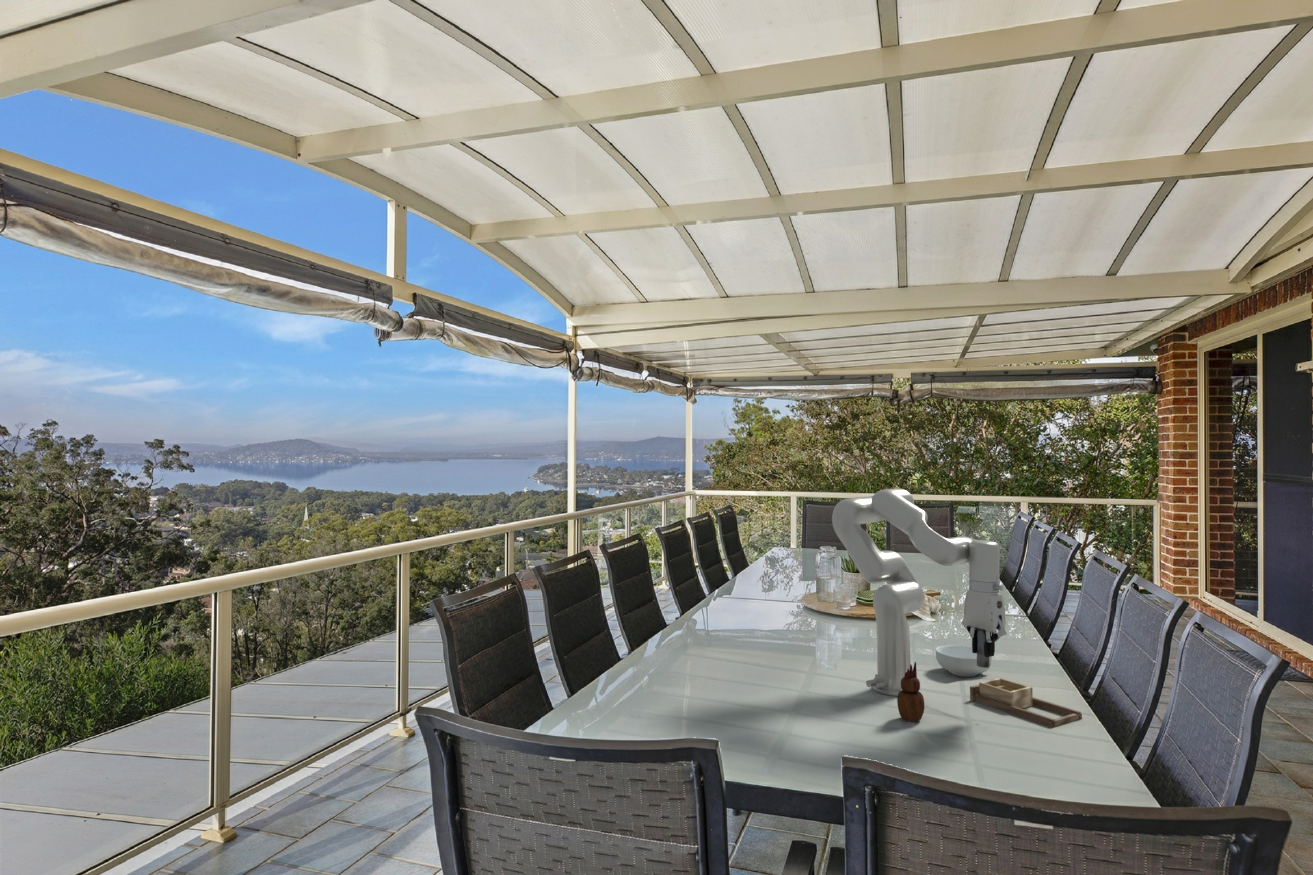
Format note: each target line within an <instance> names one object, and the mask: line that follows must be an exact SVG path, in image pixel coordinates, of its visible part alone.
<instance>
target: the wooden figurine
mask: <svg viewBox="0 0 1313 875" xmlns="http://www.w3.org/2000/svg"><path fill="white" fill-rule="evenodd" d="M917 672H918V671H917V662H916V661H915V662H914V664H913V665H912V664H911V665H910V671H909V669H907V672H905V676H904V677H903V678H902V679H901V688H902V691H900V692H899V693H898V696H896V697H897V698H896V701H897V702H896V703H897V709H898V714H899V715H900V716H899V717H900V718H901V719H902V720H904V721H907V722H918V721H920V720H922V717H923V715H924V713H925V698H924V695H923V694H922V692H921V691H920V689H921V682H920V680H919V679H918V675H917V674H918V673H917Z"/></svg>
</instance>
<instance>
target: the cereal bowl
mask: <svg viewBox="0 0 1313 875" xmlns="http://www.w3.org/2000/svg"><path fill="white" fill-rule="evenodd" d="M992 657H993V656H991V657H990V667H991V665H992V660H993V658H992ZM935 659H936V661H937V663H938V664H939V666H940V667H942V668H943V669H944V670H946V671H949V673H951V675H954V676H958V677H966V678H967V677H968V678H971V677H972V678H973V677H976V676H977V675H979V674H983V673H986V672H987V671H988V670H989V669H990V667H988V668H983V667H979V666H977V653H972V646H967V645H965V646H964V645H941V646H937V647H936V648H935Z"/></svg>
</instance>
